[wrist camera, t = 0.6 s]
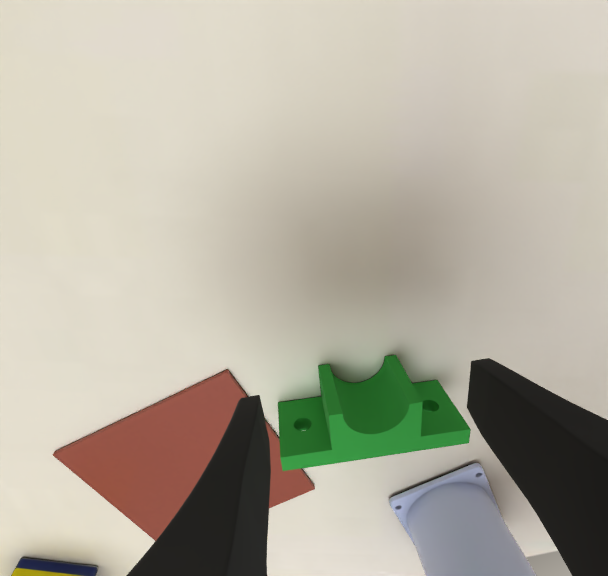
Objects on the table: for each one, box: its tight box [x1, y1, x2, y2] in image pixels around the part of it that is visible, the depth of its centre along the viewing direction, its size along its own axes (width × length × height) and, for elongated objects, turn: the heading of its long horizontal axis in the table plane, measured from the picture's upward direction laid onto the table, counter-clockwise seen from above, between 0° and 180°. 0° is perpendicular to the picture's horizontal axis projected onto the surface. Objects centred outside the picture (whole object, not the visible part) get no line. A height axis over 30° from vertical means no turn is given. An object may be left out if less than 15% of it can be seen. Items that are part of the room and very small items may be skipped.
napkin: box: [53, 370, 315, 541], centre depth 26 cm, size 13×14×1 cm
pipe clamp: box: [278, 355, 471, 471], centre depth 22 cm, size 11×4×5 cm, turn 95°
